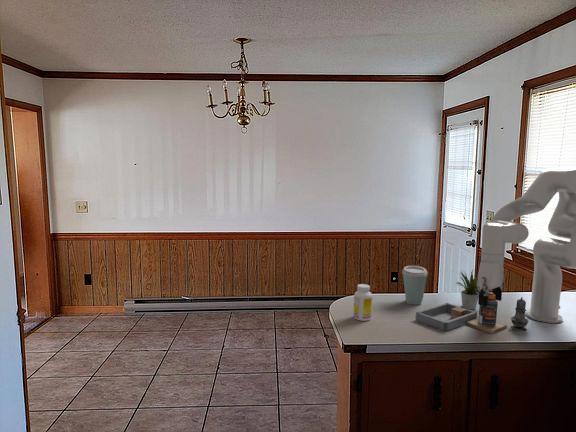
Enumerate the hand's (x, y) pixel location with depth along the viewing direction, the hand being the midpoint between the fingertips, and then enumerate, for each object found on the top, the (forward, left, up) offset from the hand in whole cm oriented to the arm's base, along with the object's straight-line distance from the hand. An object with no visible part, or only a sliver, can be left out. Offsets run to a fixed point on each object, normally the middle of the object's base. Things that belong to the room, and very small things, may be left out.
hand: (489, 302), depth 157 cm
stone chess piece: (-7, +8, -9) cm, 14 cm away
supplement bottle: (+34, -31, -9) cm, 47 cm away
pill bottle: (+1, 0, -8) cm, 8 cm away
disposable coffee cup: (+2, -32, -9) cm, 34 cm away
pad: (+1, 0, -9) cm, 9 cm away
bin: (+8, -12, -9) cm, 17 cm away
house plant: (-12, -16, -9) cm, 22 cm away
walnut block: (+3, -10, -9) cm, 14 cm away
